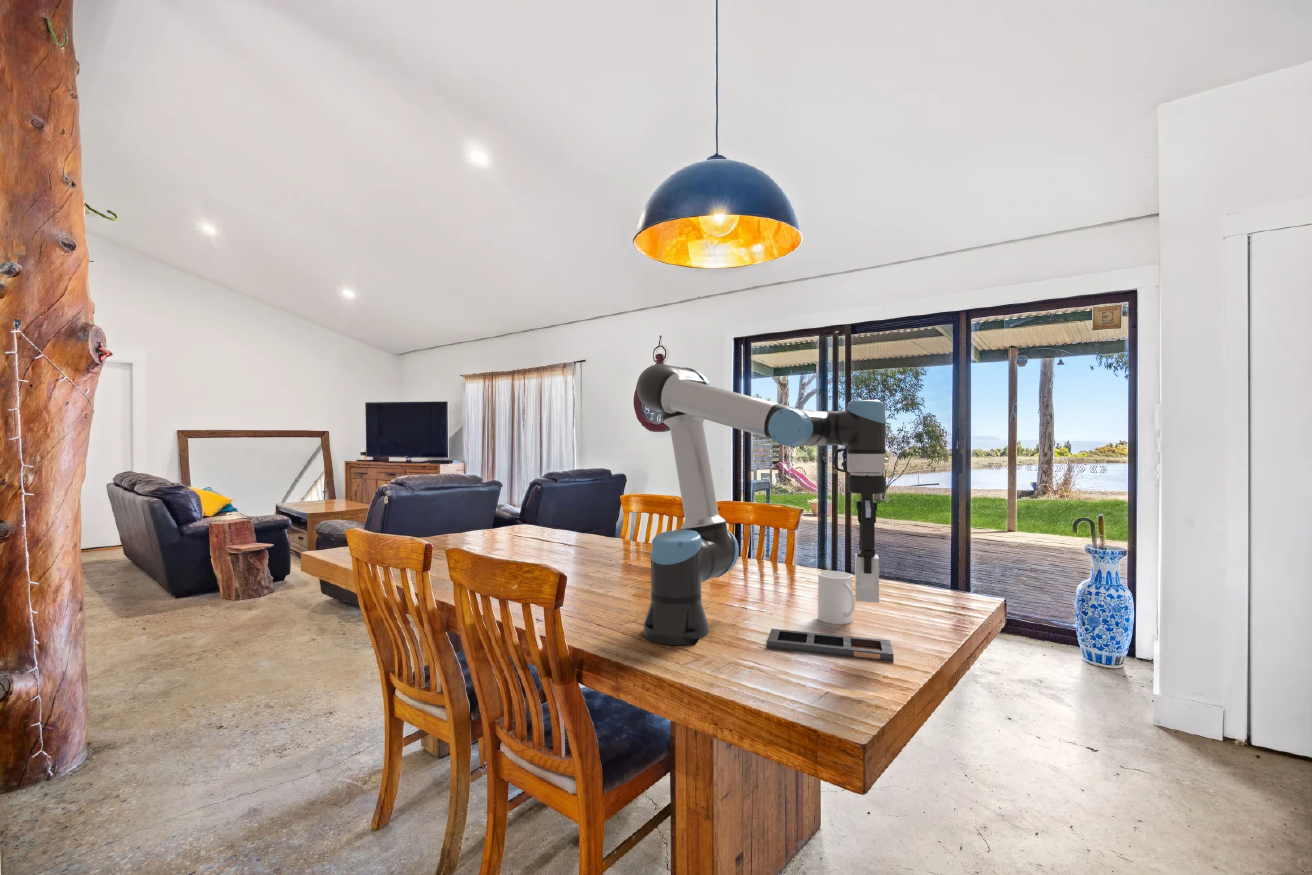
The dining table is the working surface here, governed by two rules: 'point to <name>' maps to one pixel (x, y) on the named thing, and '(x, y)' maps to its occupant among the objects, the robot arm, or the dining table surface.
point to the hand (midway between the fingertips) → (866, 585)
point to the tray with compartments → (831, 644)
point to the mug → (835, 597)
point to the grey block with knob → (867, 594)
